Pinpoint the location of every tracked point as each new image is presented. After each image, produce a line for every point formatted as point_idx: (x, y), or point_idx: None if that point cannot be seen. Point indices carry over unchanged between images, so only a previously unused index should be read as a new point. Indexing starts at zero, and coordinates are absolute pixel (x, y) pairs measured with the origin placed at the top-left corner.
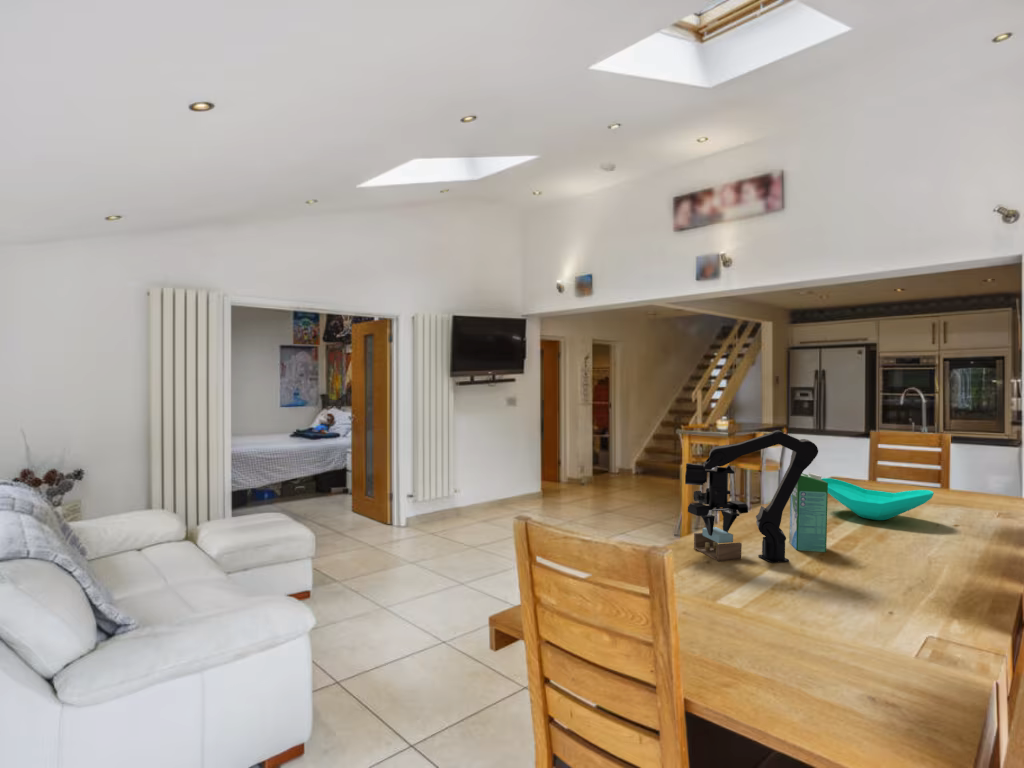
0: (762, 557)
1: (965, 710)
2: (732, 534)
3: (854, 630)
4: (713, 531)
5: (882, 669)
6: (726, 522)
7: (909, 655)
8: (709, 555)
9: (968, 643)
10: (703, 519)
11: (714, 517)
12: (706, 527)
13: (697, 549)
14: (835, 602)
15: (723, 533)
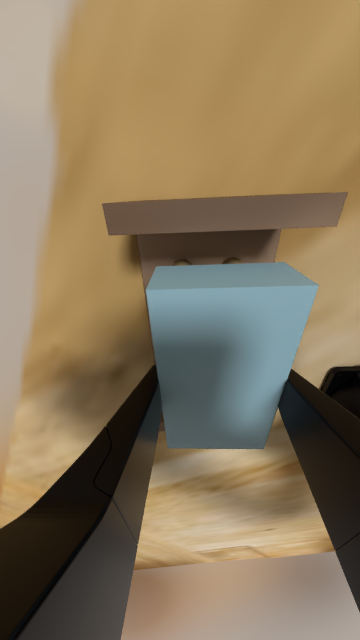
0: (326, 388)
1: (163, 565)
2: (262, 447)
3: (185, 536)
4: (186, 388)
5: (151, 552)
6: (328, 482)
7: (192, 550)
8: (151, 333)
9: (265, 551)
10: (51, 496)
11: (118, 633)
12: (122, 408)
13: (138, 241)
14: (231, 513)
15: (224, 427)
